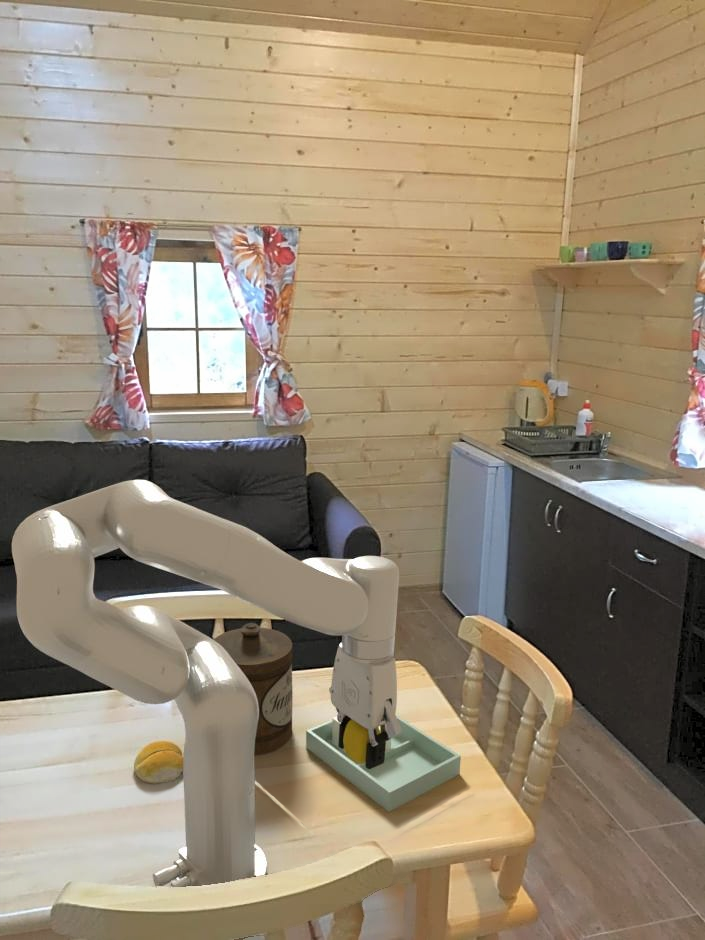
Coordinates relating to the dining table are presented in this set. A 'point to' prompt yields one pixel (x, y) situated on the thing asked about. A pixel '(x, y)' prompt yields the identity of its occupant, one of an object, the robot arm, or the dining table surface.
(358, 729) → the lemon
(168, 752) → the bread roll
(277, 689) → the wooden container
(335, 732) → the carton
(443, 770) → the tray
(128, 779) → the dining table surface
